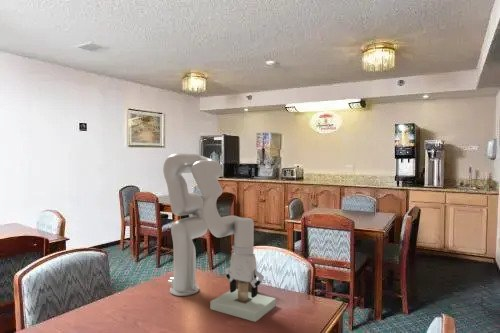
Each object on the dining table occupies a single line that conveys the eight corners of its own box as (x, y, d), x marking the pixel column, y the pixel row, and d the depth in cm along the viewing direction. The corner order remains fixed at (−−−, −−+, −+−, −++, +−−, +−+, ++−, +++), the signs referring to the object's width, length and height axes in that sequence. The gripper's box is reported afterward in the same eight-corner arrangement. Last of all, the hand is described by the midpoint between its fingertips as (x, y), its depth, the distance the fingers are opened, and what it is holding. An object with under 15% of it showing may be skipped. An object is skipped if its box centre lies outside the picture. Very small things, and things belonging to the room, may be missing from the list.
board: (210, 309, 133) (210, 301, 133) (233, 295, 147) (233, 288, 147) (255, 321, 123) (255, 313, 123) (275, 305, 137) (275, 298, 137)
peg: (235, 308, 134) (235, 282, 134) (241, 304, 138) (241, 279, 138) (244, 310, 132) (244, 284, 132) (250, 306, 136) (250, 281, 136)
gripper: (220, 249, 136) (219, 292, 136) (258, 255, 127) (258, 302, 127) (230, 245, 142) (230, 286, 143) (268, 251, 134) (267, 295, 134)
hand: (243, 293), depth 135 cm, fingers open, 9 cm apart
